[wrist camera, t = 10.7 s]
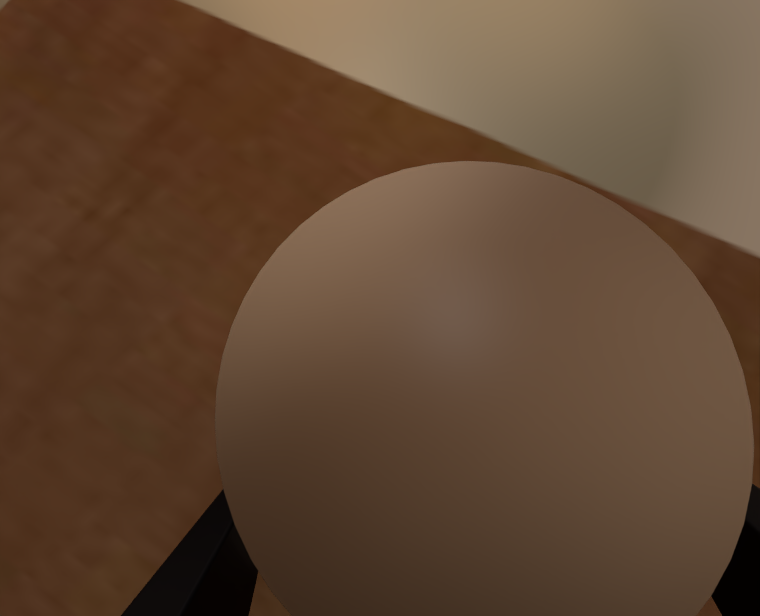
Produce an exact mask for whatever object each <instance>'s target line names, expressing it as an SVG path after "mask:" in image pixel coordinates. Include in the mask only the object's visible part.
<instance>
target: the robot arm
mask: <svg viewBox="0 0 760 616" xmlns="http://www.w3.org/2000/svg"><path fill="white" fill-rule="evenodd" d="M257 574H258V569H257V568H256V566H255V565H254V563H253V562H252V560H251V558H250V556H249V554H248V552H247V550H246V548H245V546H244V543H243V541H242V539H241V537H240V535H239V533H238V531H237V529H236V527H235V524H234V521H233V518H232V514H231V511H230V508H229V505H228V502H227V499H226V496H225V493H224V489H223V490H222V491H221V492H220V494H219V495H218V496H217V497H216V499H215V500H214V501H213V502H212V504H211V505H210V506H209V507H208V508H207V510H206V511H205V512H204V513H203V515H202V516H201V517H200V518H199V520H198V521H197V522H196V523H195V525H194V526H193V527H192V528H191V530H190V531H189V532H188V533H187V534H186V536H185V537H184V538H183V539H182V541H181V542H180V543H179V544H178V546H177V547H176V548H175V549H174V551H173V552H172V553H171V554H170V556H169V557H168V558H167V559H166V560H165V562H164V563H163V564H162V565H161V567H160V568H159V569H158V570H157V572H156V573H155V574H154V575H153V577H152V578H151V579H150V580H149V582H148V583H147V584H146V585H145V586H144V588H143V589H142V590H141V591H140V593H139V594H138V595H137V596H136V598H135V599H134V600H133V601H132V603H131V604H130V605H129V606H128V608H127V609H126V610H125V611H124V612H123V614H122V615H121V616H248V615H249V611H250V606H251V602H252V597H253V593H254V588H255V584H256V579H257ZM711 596H712V598H713V600H714V602H715V604H716V605H717V607H718V609H719V611H720V612H721V614H722V616H760V488H758V487H757V486H755V485H754V484H752V487H751V492H750V497H749V501H748V506H747V511H746V516H745V521H744V525H743V528H742V530H741V533H740V536H739V539H738V541H737V544H736V547H735V550H734V552H733V555H732V558H731V560H730V562H729V564H728V566H727V568H726V570H725V571H724V573H723V575H722V577H721V579H720V581H719V582H718V584H717V586H716V588H715V590H714V592H713V593H712V595H711Z"/></svg>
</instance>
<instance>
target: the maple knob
mask: <svg viewBox="0 0 760 616" xmlns="http://www.w3.org/2000/svg"><path fill="white" fill-rule="evenodd" d="M215 432H216V446H217V458H218V464H219V469H220V474H221V479H222V484H223V489H224V493H225V496H226V499H227V502H228V505H229V508H230V511H231V514H232V518H233V521H234V524H235V527H236V529H237V531H238V533H239V535H240V537H241V539H242V541H243V543H244V546H245V548H246V550H247V552H248V554H249V556H250V558H251V560H252V562H253V563H254V565H255V566H256V568H257V569H258V571H259V573H260V574H261V576H262V577H263V579H264V580H265V582H266V584H267V585H268V587H269V588H270V590H271V591H272V593H273V594H274V595H275V596H276V597H277V598H278V600H279V601H280V602H281V603H282V604H283V606H284V607H285V608H286V609H287V610H288V612H289V613H290V614H291V615H292V616H696V615H697V613H698V612H699V611H700V609H701V608H702V607H703V606H704V604H705V603H706V602H707V600H708V599H709V598H710V596H711V595H712V593H713V592H714V590H715V588H716V586H717V584H718V582H719V581H720V579H721V577H722V575H723V573H724V571H725V570H726V568H727V566H728V564H729V562H730V560H731V558H732V555H733V552H734V550H735V547H736V544H737V541H738V539H739V536H740V533H741V530H742V528H743V525H744V521H745V516H746V511H747V506H748V501H749V497H750V492H751V487H752V474H753V456H754V440H753V427H752V415H751V406H750V402H749V397H748V392H747V388H746V383H745V378H744V374H743V370H742V367H741V365H740V362H739V359H738V356H737V353H736V351H735V348H734V345H733V342H732V339H731V337H730V335H729V333H728V331H727V329H726V327H725V325H724V323H723V321H722V319H721V317H720V315H719V313H718V311H717V309H716V307H715V305H714V303H713V302H712V300H711V299H710V297H709V296H708V294H707V293H706V291H705V290H704V288H703V287H702V286H701V284H700V283H699V281H698V280H697V278H696V277H695V275H694V274H693V273H692V271H691V270H690V269H689V268H688V267H687V266H686V264H685V263H684V262H683V261H682V260H681V259H680V258H679V256H678V255H677V254H676V253H675V252H674V251H673V249H672V248H671V247H670V246H669V245H668V244H666V243H665V242H664V241H663V240H662V239H661V238H660V237H659V236H658V235H657V234H655V233H654V232H653V231H652V230H651V229H650V228H649V227H648V226H647V225H646V224H644V223H643V222H642V221H640V220H639V219H637V218H636V217H635V216H633V215H632V214H630V213H629V212H628V211H626V210H625V209H623V208H622V207H621V206H619V205H618V204H616V203H614V202H612V201H611V200H609V199H607V198H605V197H603V196H602V195H600V194H598V193H596V192H594V191H592V190H591V189H589V188H587V187H584V186H582V185H579V184H577V183H574V182H572V181H569V180H567V179H565V178H562V177H560V176H557V175H553V174H550V173H546V172H543V171H539V170H535V169H532V168H528V167H523V166H516V165H510V164H504V163H497V162H476V161H459V162H446V163H434V164H429V165H424V166H419V167H414V168H409V169H404V170H401V171H398V172H395V173H392V174H389V175H385V176H382V177H379V178H376V179H374V180H372V181H370V182H368V183H365V184H363V185H361V186H359V187H357V188H354V189H352V190H350V191H348V192H347V193H345V194H343V195H342V196H340V197H338V198H337V199H335V200H334V201H332V202H330V203H329V204H327V205H325V206H324V207H323V208H321V209H320V210H319V211H317V212H316V213H315V214H314V215H312V216H311V217H310V218H309V219H307V220H306V221H305V222H304V223H302V224H301V225H300V226H299V227H298V228H297V229H296V230H295V231H294V232H293V233H292V234H291V235H290V236H289V237H288V238H287V239H286V240H285V241H284V242H283V243H282V244H281V245H280V246H279V247H278V249H277V250H276V251H275V252H274V254H273V255H272V256H271V258H270V259H269V260H268V261H267V263H266V264H265V265H264V267H263V268H262V269H261V271H260V272H259V274H258V275H257V277H256V279H255V280H254V282H253V284H252V285H251V287H250V289H249V291H248V292H247V294H246V296H245V297H244V299H243V302H242V304H241V306H240V308H239V311H238V313H237V315H236V317H235V320H234V322H233V324H232V327H231V330H230V333H229V336H228V340H227V343H226V346H225V350H224V353H223V356H222V361H221V367H220V373H219V378H218V384H217V391H216V410H215Z"/></svg>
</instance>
